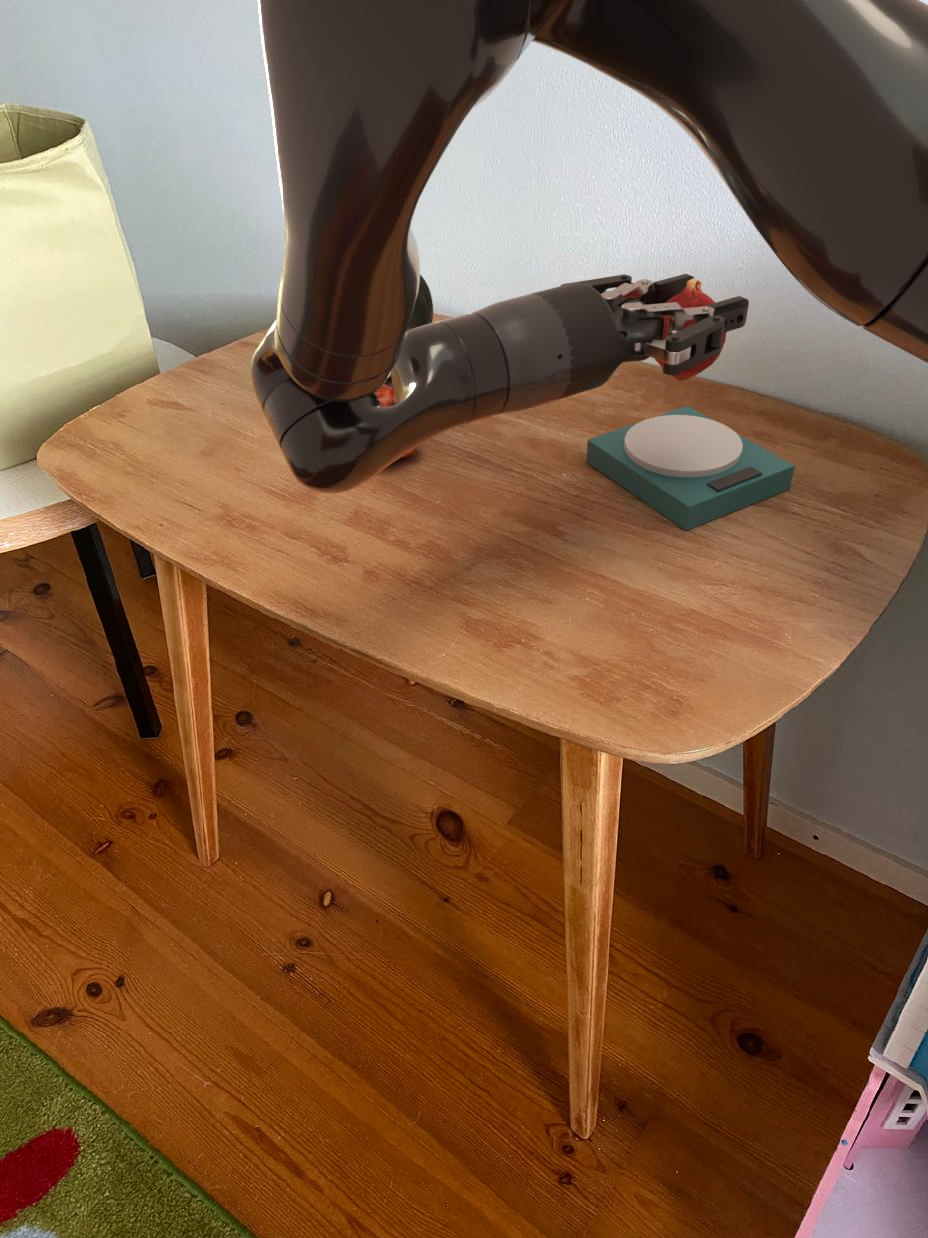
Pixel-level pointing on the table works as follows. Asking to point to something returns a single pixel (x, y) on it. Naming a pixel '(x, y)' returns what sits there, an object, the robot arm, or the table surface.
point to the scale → (689, 466)
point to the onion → (691, 323)
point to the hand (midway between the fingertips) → (716, 298)
